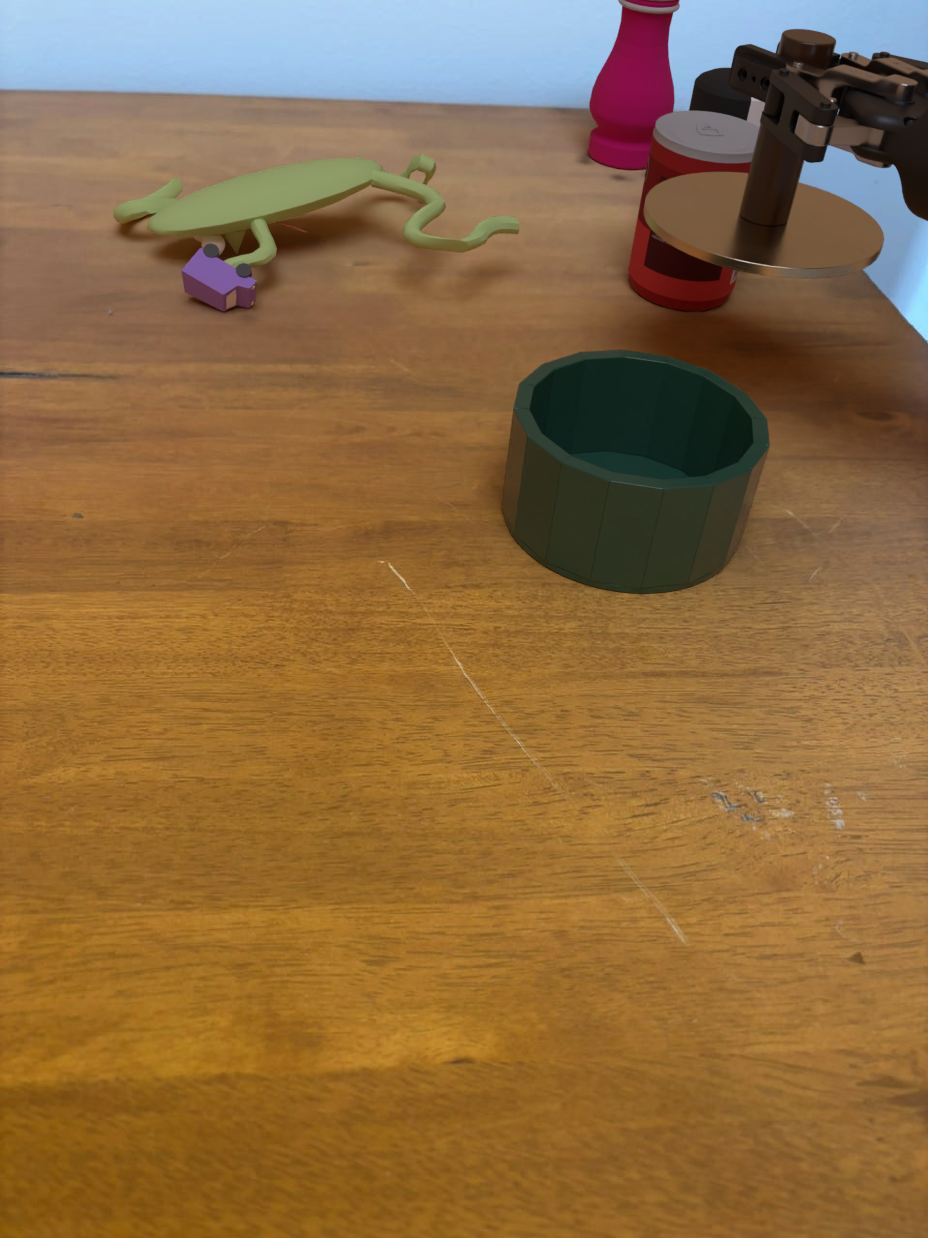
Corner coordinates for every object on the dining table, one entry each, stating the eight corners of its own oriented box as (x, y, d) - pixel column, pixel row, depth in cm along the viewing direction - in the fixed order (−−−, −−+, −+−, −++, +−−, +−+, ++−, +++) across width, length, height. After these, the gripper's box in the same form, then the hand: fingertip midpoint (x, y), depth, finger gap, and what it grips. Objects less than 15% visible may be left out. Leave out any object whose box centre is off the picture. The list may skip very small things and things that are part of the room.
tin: (627, 428, 68) (647, 329, 63) (787, 542, 60) (822, 439, 56) (455, 491, 62) (464, 387, 57) (611, 626, 54) (634, 518, 50)
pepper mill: (622, 136, 105) (664, -120, 92) (680, 162, 101) (733, -100, 88) (565, 149, 101) (601, -115, 88) (623, 178, 97) (670, -95, 84)
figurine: (529, 304, 79) (539, 225, 75) (127, 327, 72) (116, 242, 68) (458, 196, 92) (463, 124, 88) (112, 207, 85) (102, 130, 81)
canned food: (697, 258, 86) (731, 106, 79) (753, 307, 81) (795, 149, 74) (606, 267, 84) (633, 111, 76) (658, 318, 78) (692, 156, 71)
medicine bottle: (649, 246, 87) (680, 80, 79) (667, 212, 92) (698, 53, 84) (741, 265, 86) (783, 98, 78) (754, 230, 91) (795, 70, 83)
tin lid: (752, 177, 73) (797, -9, 66) (926, 259, 66) (998, 59, 58) (593, 214, 67) (624, 13, 60) (766, 310, 59) (825, 92, 52)
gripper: (1154, 64, 53) (860, -27, 63) (977, 103, 46) (679, -6, 56) (1083, 222, 58) (821, 115, 68) (915, 278, 51) (651, 150, 61)
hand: (758, 61), depth 62 cm, fingers closed on tin lid, 3 cm apart
